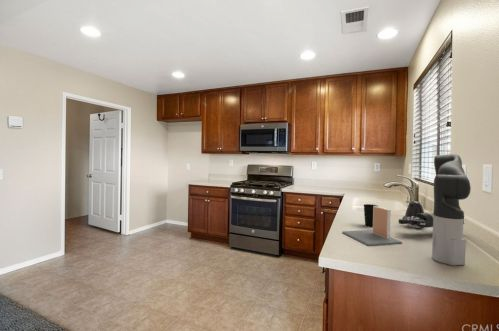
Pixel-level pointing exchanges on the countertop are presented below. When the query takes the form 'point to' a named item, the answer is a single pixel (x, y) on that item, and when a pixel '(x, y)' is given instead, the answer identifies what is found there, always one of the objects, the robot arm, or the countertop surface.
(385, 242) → the mat
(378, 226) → the tile
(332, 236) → the countertop surface
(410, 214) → the pump dispenser
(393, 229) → the countertop surface
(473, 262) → the countertop surface
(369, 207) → the cup
